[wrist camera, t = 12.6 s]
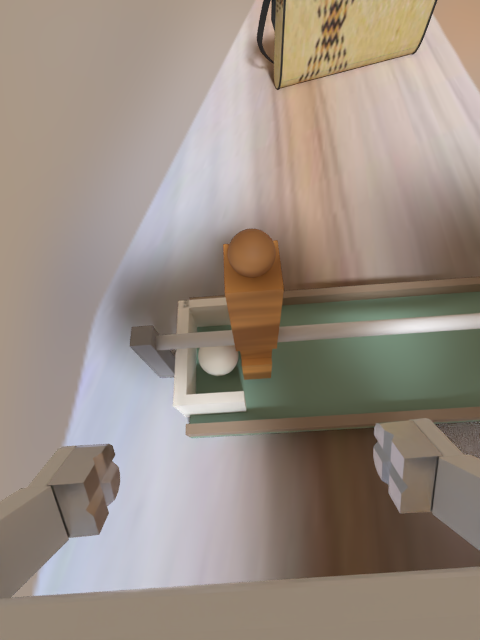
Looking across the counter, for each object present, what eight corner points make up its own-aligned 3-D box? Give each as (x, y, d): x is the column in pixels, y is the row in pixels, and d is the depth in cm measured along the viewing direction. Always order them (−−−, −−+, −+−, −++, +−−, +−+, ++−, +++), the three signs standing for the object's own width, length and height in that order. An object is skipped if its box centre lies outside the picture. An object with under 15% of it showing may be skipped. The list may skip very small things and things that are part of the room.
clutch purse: (403, 38, 57) (446, -96, 44) (426, 55, 54) (479, -83, 41) (251, 77, 55) (248, -54, 41) (266, 97, 51) (267, -37, 38)
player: (274, 377, 28) (288, 269, 14) (240, 379, 28) (219, 274, 14) (270, 337, 30) (278, 203, 16) (238, 339, 30) (218, 208, 16)
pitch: (603, 414, 27) (728, 389, 19) (155, 440, 28) (119, 426, 21) (530, 285, 33) (605, 231, 25) (164, 311, 34) (139, 266, 27)
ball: (193, 370, 26) (203, 382, 29) (236, 366, 25) (241, 379, 29) (193, 331, 27) (203, 346, 31) (234, 327, 27) (240, 342, 30)
